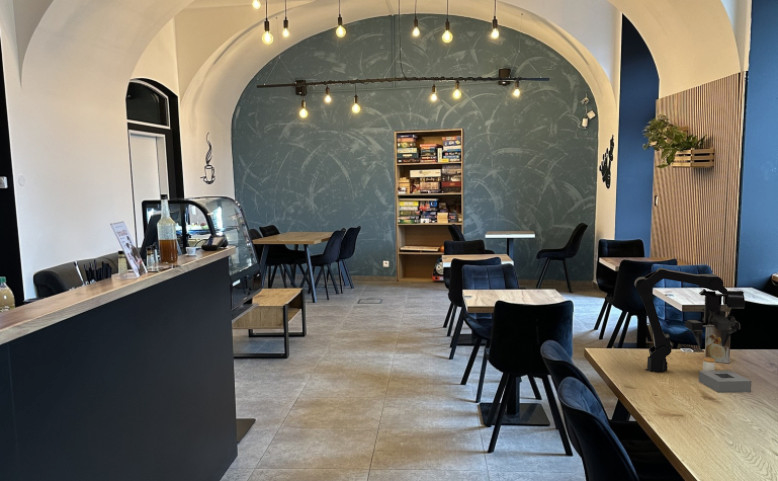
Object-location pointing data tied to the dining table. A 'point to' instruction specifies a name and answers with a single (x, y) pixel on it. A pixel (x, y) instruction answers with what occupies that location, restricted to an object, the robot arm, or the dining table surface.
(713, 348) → the coffee box
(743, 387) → the header
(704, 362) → the plug
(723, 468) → the dining table surface
